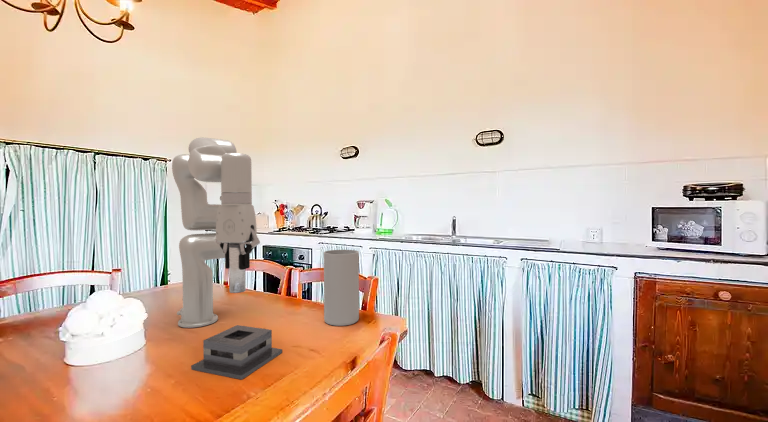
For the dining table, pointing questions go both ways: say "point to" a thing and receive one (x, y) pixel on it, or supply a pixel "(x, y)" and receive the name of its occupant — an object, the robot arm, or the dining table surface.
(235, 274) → the tube
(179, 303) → the dining table surface
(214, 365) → the collar stand
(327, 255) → the cylinder vase
